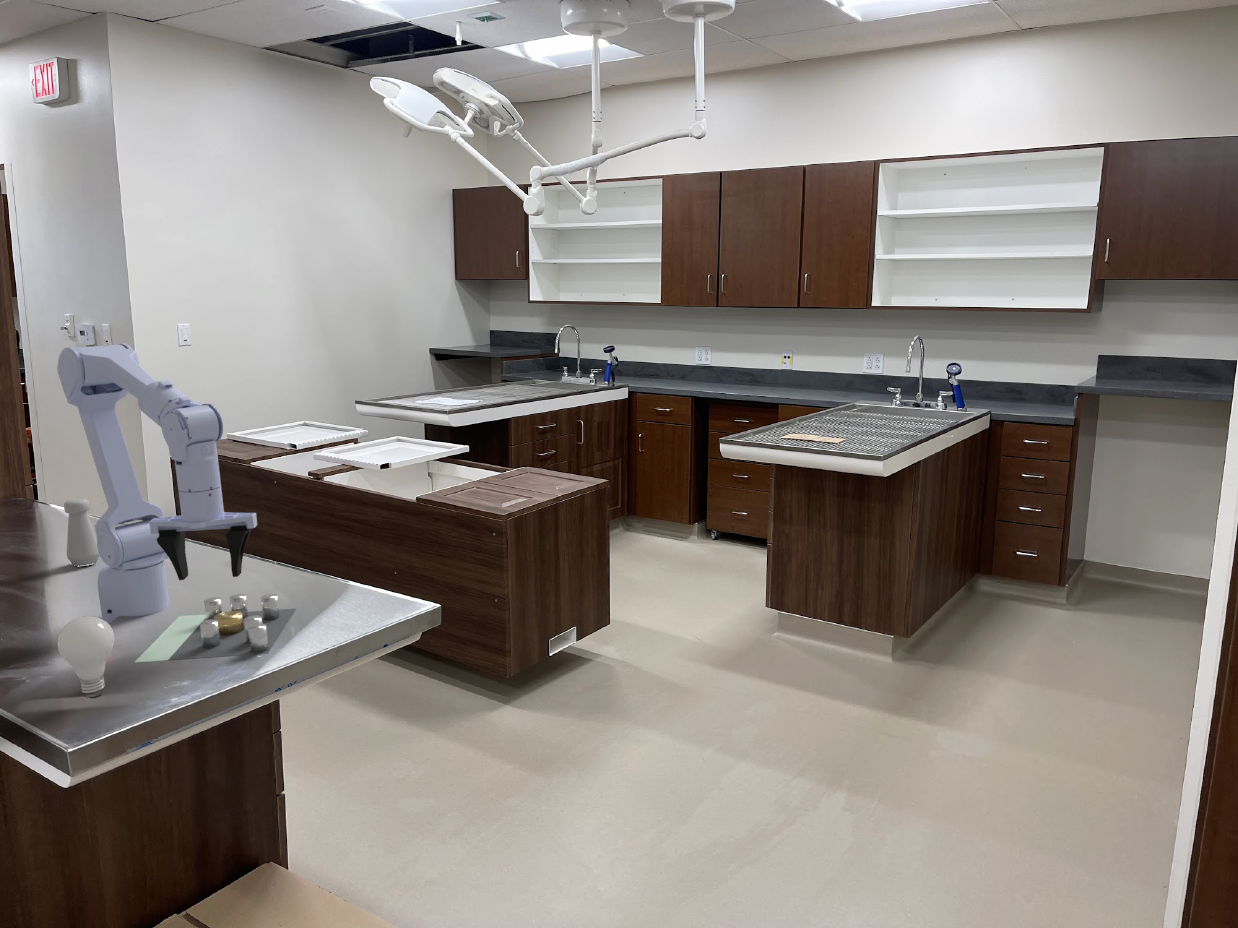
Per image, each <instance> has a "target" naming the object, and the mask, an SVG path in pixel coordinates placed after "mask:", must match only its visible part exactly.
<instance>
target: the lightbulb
mask: <svg viewBox="0 0 1238 928" xmlns="http://www.w3.org/2000/svg"><path fill="white" fill-rule="evenodd" d="M115 638H116V637H115V632H114V630H113V628H112V626H111V625H110V624H108V623H107V622H106V621H104V620H103V619H102V617H101V618H100V617H97V616H92V615H85V616H79V617H77V618H74V619H73V620H71V621H70V622H68V623H67V624H66V625H64V627H63V628H62V629H60V632H59V634H58V637H57V650H58V652H59V654H60V657H62V659H64V661H66V662H67V663H68V664H69V665H70V666H71V667H72V668H73V669H74V672H75V674H76V676H77V677H78V678H79V681H80V687H81V693H83V694H90V695H83V697H84V698H88V699H98V698H99V697H100V696H101V694H94V695H93V693H96V692H100V691H103V690H104V689H105V686H106V684H105V674H104V673H105V671H106V664H107V660H108V658H109V656H110V654H111V653H112V651H113V648H114V644H115ZM91 694H92V695H91Z"/></svg>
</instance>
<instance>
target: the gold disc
mask: <svg viewBox="0 0 1238 928" xmlns="http://www.w3.org/2000/svg"><path fill="white" fill-rule="evenodd" d="M214 620H218V626H219V634H220V635H221V636H226V635H233V634H237V633H239V632H241V631H243V630H244V622H243V613H242V612H240V611H231V610H229V611H224V612H223V613H220V614H217V615H216V616H214Z"/></svg>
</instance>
